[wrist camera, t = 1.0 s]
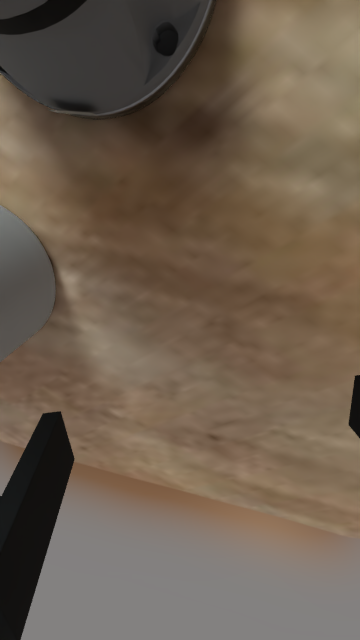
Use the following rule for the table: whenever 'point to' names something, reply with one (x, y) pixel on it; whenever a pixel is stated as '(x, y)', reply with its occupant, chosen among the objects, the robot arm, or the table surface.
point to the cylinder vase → (22, 283)
